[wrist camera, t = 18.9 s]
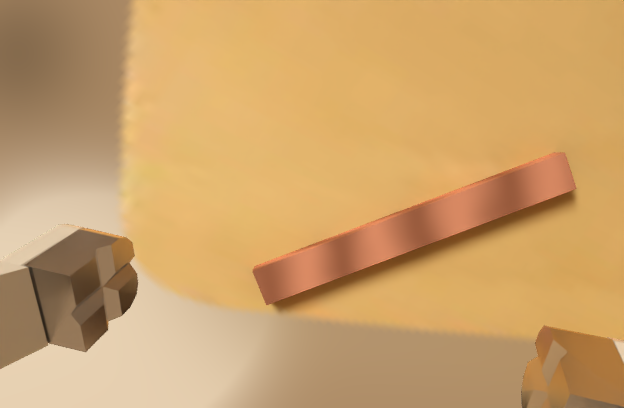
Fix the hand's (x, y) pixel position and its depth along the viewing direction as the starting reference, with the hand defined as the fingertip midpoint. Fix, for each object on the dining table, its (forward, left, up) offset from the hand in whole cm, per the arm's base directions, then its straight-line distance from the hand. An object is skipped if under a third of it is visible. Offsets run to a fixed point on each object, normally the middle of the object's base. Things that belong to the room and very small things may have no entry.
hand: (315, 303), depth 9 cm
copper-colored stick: (+2, +8, -29) cm, 30 cm away
